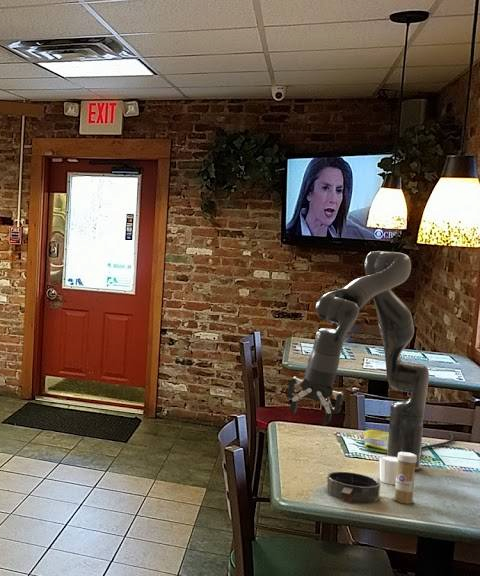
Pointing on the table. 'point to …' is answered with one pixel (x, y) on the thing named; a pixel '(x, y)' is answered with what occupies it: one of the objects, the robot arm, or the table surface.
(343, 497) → the pan handle
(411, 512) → the table surface
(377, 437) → the dish towel
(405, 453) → the sprinkles bottle
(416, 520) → the table surface
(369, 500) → the pan
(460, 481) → the table surface
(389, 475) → the white cup
